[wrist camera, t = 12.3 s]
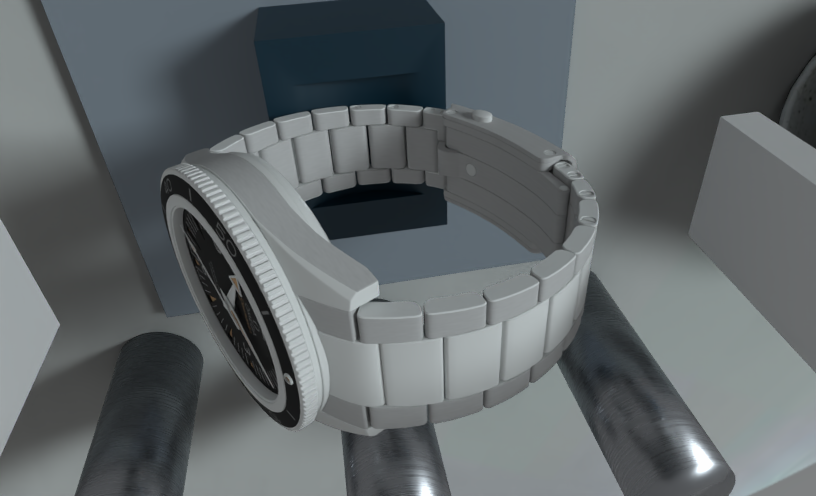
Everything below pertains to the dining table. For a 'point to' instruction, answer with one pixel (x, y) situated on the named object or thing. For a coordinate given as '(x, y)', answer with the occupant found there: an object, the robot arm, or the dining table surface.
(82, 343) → the dining table surface
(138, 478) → the post field
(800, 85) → the ceramic mug
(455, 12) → the mat
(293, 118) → the watch
